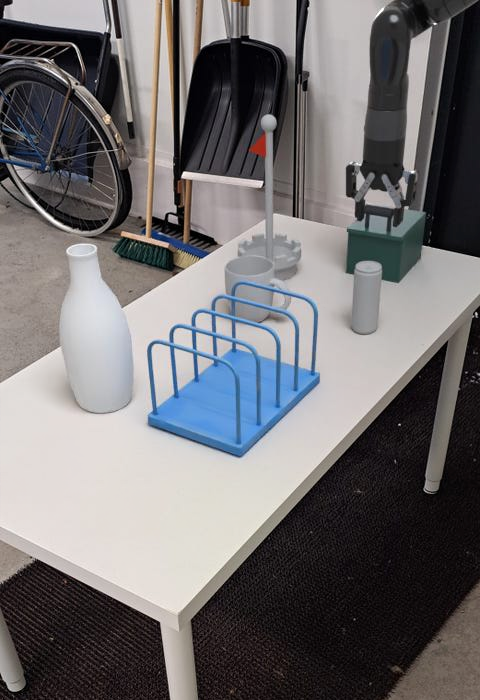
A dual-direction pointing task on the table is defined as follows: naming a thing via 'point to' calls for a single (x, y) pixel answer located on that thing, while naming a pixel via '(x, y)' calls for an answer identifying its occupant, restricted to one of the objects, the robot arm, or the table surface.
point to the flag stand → (271, 216)
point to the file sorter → (233, 383)
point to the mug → (254, 272)
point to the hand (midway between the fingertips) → (378, 222)
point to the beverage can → (366, 296)
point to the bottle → (95, 337)
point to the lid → (385, 222)
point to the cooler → (386, 252)
